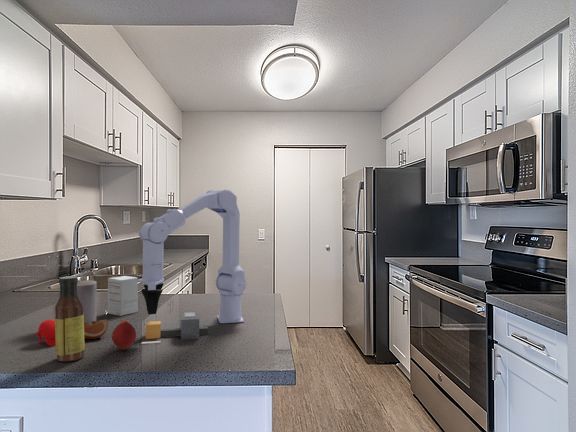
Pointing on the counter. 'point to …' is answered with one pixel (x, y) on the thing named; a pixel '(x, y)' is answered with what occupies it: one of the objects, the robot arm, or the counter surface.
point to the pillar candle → (88, 298)
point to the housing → (189, 325)
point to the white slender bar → (151, 342)
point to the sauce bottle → (69, 322)
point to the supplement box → (122, 295)
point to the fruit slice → (95, 329)
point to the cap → (47, 332)
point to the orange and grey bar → (166, 330)
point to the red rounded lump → (124, 335)
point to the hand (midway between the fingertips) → (152, 310)
